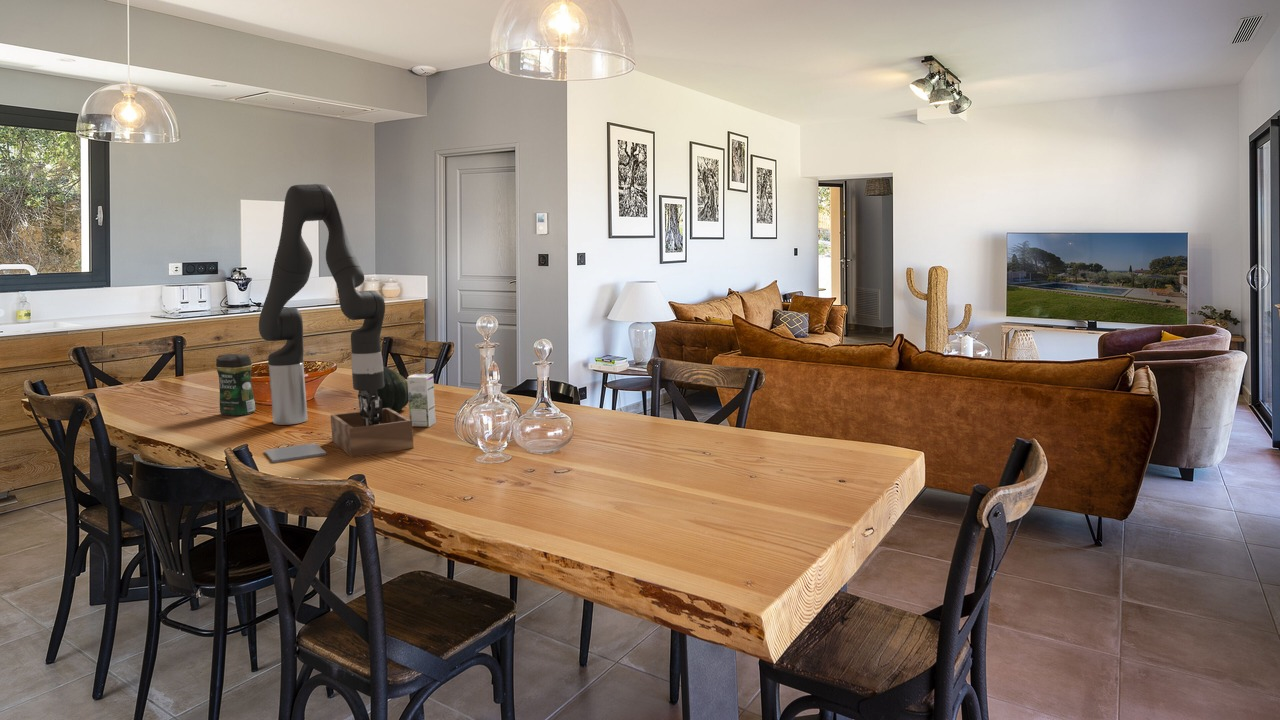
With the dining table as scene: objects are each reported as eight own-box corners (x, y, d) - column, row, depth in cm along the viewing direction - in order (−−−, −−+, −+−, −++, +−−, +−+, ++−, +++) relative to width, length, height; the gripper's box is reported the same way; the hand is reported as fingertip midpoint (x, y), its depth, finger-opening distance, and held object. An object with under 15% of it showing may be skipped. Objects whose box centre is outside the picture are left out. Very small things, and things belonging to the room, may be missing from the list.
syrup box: (436, 423, 226) (433, 373, 224) (429, 427, 220) (426, 376, 218) (417, 422, 227) (414, 373, 225) (409, 427, 221) (406, 376, 219)
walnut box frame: (332, 441, 206) (330, 414, 205) (389, 433, 215) (388, 407, 214) (351, 457, 190) (349, 428, 189) (413, 447, 198) (411, 420, 197)
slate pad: (264, 452, 196) (264, 449, 196) (315, 445, 202) (315, 442, 202) (273, 462, 186) (272, 460, 186) (326, 454, 192) (326, 452, 192)
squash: (399, 399, 234) (404, 357, 242) (348, 402, 234) (355, 360, 242) (411, 422, 246) (416, 381, 254) (363, 425, 245) (370, 384, 254)
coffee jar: (215, 415, 241) (209, 355, 238) (235, 410, 248) (230, 351, 246) (240, 417, 238) (235, 356, 235) (260, 411, 246) (255, 352, 243)
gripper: (345, 368, 203) (350, 433, 205) (359, 374, 191) (364, 443, 194) (374, 365, 207) (379, 429, 209) (390, 371, 195) (395, 439, 198)
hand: (372, 435), depth 201 cm, fingers closed on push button, 5 cm apart
